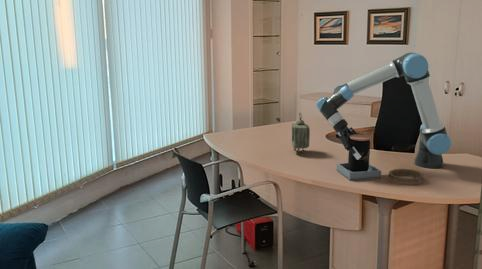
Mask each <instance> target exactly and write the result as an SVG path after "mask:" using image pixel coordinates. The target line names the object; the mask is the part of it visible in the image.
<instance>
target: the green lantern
mask: <svg viewBox="0 0 482 269" xmlns="http://www.w3.org/2000/svg"><path fill="white" fill-rule="evenodd" d="M298 114H299V118H298V120H297V121H296V122H294V123H293V122H292V124H291V146H292V148H293V151H296V150H297V151H296V152H295V155H299V151H300V149H302V150H301V152H302V153H305V149H307V148H309V147H310V135H311V134H310V131H311V130H310V125H308V124H307V123H305V120H303V119H302V117H303V116H302V112H301V111H300V112H299V113H298Z"/></svg>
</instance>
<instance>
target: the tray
mask: <svg viewBox="0 0 482 269" xmlns="http://www.w3.org/2000/svg"><path fill="white" fill-rule="evenodd" d="M336 172H338V173H339V174H340V175H341V176H343V177H344V178H345V179H347V180H348V181H350V182H351V181H358V180H359V181H360V180H361V181H363V180H375V179H381V178H382V170H380V169H379V168H377V167H376V166H374V165H372V164H371V163H369V169H368V170H367V171H362V172H352V171H350V170H349V168H348V162H339V163H336Z"/></svg>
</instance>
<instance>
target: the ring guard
mask: <svg viewBox="0 0 482 269" xmlns="http://www.w3.org/2000/svg"><path fill="white" fill-rule="evenodd" d="M400 176H408V177H400ZM410 176H411V178H410ZM388 180H389V181H391V182H393V183H395V184H399V185H406V184H407V185H406V186H408V185H410V186H412V185H415V184H416V185H420V184H422V183H424V173H423V172H421V171H418V170H414V169H410V168H409V169H408V168H394V169H391V170H389V171H388Z"/></svg>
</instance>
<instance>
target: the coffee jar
mask: <svg viewBox="0 0 482 269" xmlns="http://www.w3.org/2000/svg"><path fill="white" fill-rule="evenodd" d="M349 139H350V142H351V144H352V147H354V148H355V149H356V150H357V151H358V153H359V154H360V155H361V158H359V159H358V160H357V159H356V158H355V156H354V155H353V154H352V153H351V151H350V150H348V156H347V157H348V158H347V163H348V168H349V170H350V171H352V172H362V171H367V170H368V169H369V164H370V153H371V152H370V151H371V136H370V135H368V134H360V133H358V134H354V135H350V136H349Z"/></svg>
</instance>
